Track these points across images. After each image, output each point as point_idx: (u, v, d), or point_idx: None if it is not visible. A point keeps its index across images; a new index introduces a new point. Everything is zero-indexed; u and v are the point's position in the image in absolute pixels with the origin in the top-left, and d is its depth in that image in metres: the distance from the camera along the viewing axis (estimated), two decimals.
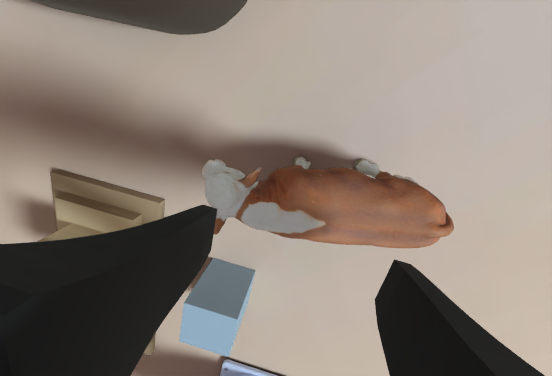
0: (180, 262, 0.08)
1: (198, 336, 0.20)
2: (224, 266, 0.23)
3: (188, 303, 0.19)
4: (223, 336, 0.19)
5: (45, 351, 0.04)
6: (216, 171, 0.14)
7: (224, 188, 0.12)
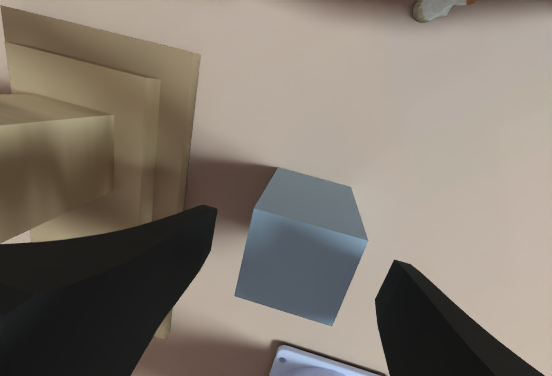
0: (180, 262, 0.08)
1: (274, 284, 0.10)
2: (300, 177, 0.13)
3: (262, 209, 0.09)
4: (329, 281, 0.10)
5: (45, 351, 0.04)
6: None
7: None
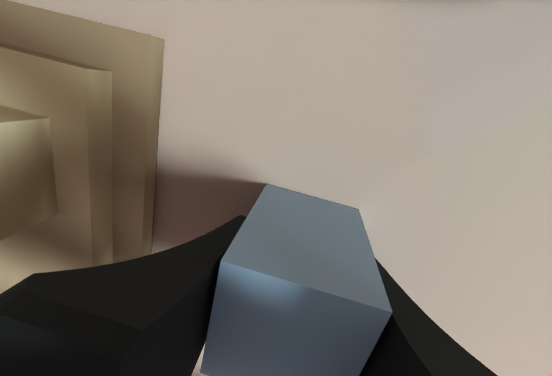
0: None
1: (254, 361, 0.07)
2: (294, 198, 0.10)
3: (233, 262, 0.06)
4: (333, 362, 0.07)
5: None
6: None
7: None
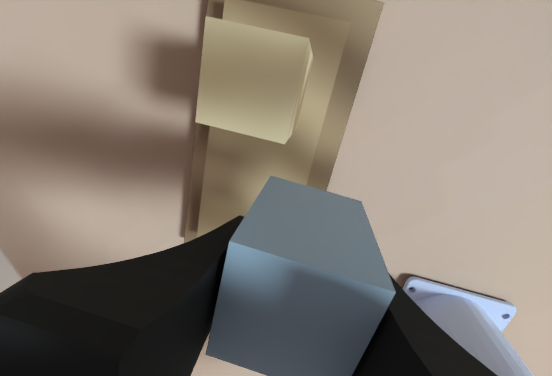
0: None
1: (259, 342, 0.07)
2: (298, 189, 0.11)
3: (241, 243, 0.06)
4: (337, 343, 0.07)
5: None
6: None
7: None
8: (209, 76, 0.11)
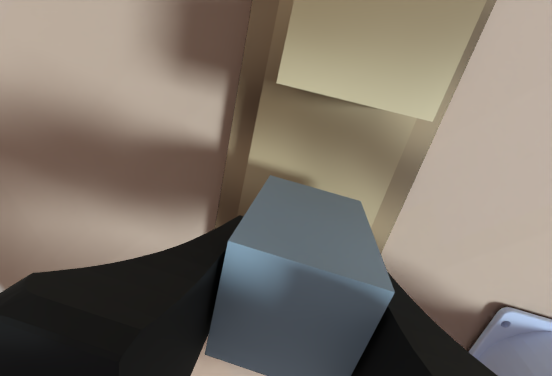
0: None
1: (258, 342, 0.07)
2: (298, 188, 0.11)
3: (240, 243, 0.06)
4: (336, 343, 0.07)
5: None
6: None
7: None
8: None
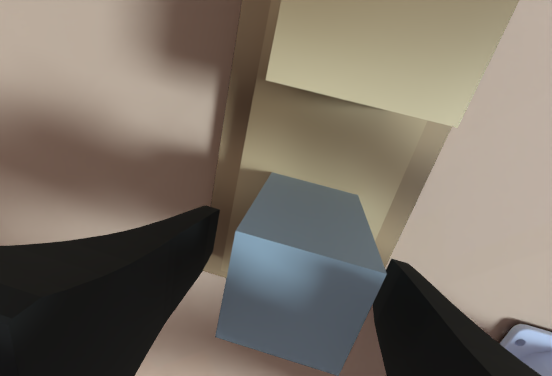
0: (183, 263, 0.08)
1: (264, 324, 0.08)
2: (298, 184, 0.11)
3: (246, 232, 0.07)
4: (335, 323, 0.07)
5: (52, 353, 0.04)
6: None
7: None
8: None
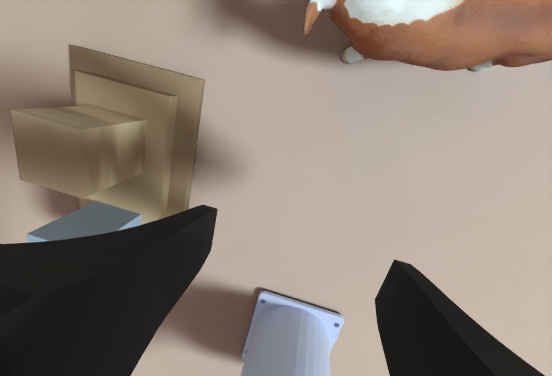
0: (180, 262, 0.08)
1: None
2: (104, 208, 0.21)
3: (32, 234, 0.17)
4: None
5: (45, 351, 0.04)
6: None
7: None
8: (22, 149, 0.14)
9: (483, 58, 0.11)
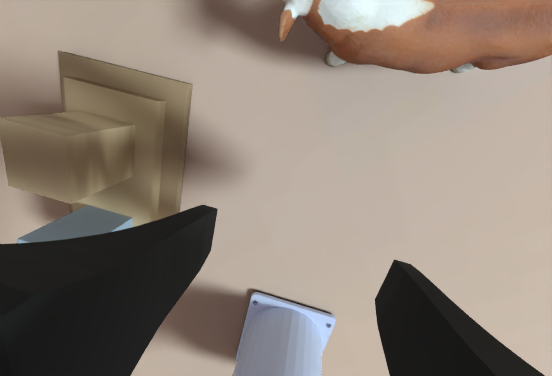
0: (180, 262, 0.08)
1: None
2: (96, 212, 0.21)
3: (22, 239, 0.17)
4: None
5: (45, 351, 0.04)
6: None
7: None
8: (9, 156, 0.15)
9: (458, 62, 0.11)
